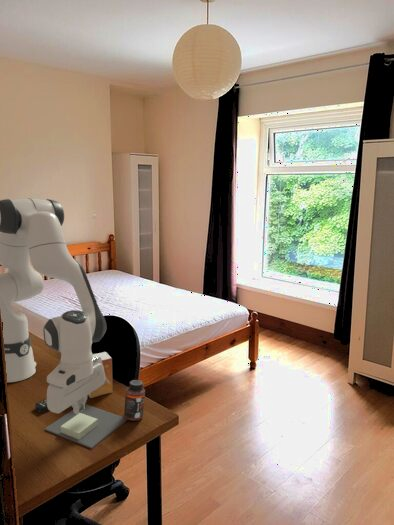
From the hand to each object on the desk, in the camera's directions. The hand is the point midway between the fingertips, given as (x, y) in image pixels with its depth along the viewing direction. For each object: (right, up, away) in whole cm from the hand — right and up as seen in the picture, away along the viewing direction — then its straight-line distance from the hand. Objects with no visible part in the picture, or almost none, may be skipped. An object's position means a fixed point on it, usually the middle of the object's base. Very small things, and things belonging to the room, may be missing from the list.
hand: (79, 411), depth 121 cm
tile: (+2, -4, +4) cm, 6 cm away
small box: (0, -2, +23) cm, 23 cm away
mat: (+1, -5, +4) cm, 7 cm away
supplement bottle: (+15, -5, +8) cm, 17 cm away
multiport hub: (-12, -3, +16) cm, 20 cm away
